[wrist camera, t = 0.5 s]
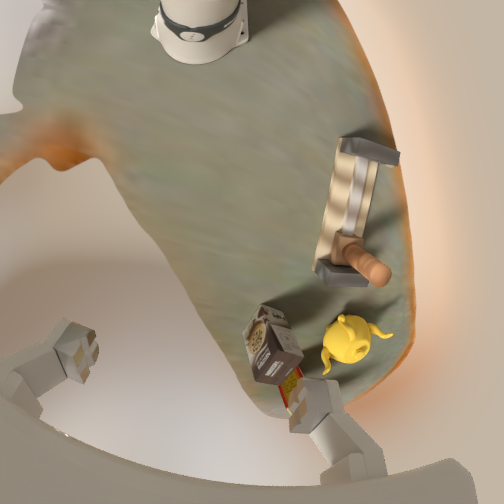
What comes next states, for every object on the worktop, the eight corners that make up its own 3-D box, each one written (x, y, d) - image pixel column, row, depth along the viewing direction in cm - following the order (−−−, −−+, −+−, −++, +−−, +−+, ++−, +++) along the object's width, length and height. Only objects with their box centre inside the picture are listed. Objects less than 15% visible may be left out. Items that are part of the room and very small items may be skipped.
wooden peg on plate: (333, 231, 56) (374, 259, 41) (356, 234, 57) (399, 262, 43) (326, 257, 58) (364, 292, 43) (349, 259, 59) (389, 292, 45)
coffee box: (259, 302, 61) (278, 349, 46) (283, 311, 63) (306, 356, 48) (240, 332, 63) (253, 382, 48) (263, 340, 65) (281, 387, 50)
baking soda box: (270, 363, 69) (286, 409, 54) (292, 353, 69) (312, 397, 54) (281, 382, 72) (297, 424, 58) (302, 372, 72) (321, 413, 58)
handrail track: (338, 135, 50) (360, 134, 42) (378, 148, 53) (402, 150, 45) (311, 270, 60) (326, 288, 52) (350, 272, 63) (368, 289, 55)
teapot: (366, 289, 66) (391, 312, 55) (373, 327, 72) (394, 351, 61) (298, 325, 65) (315, 355, 55) (313, 360, 71) (328, 389, 61)
